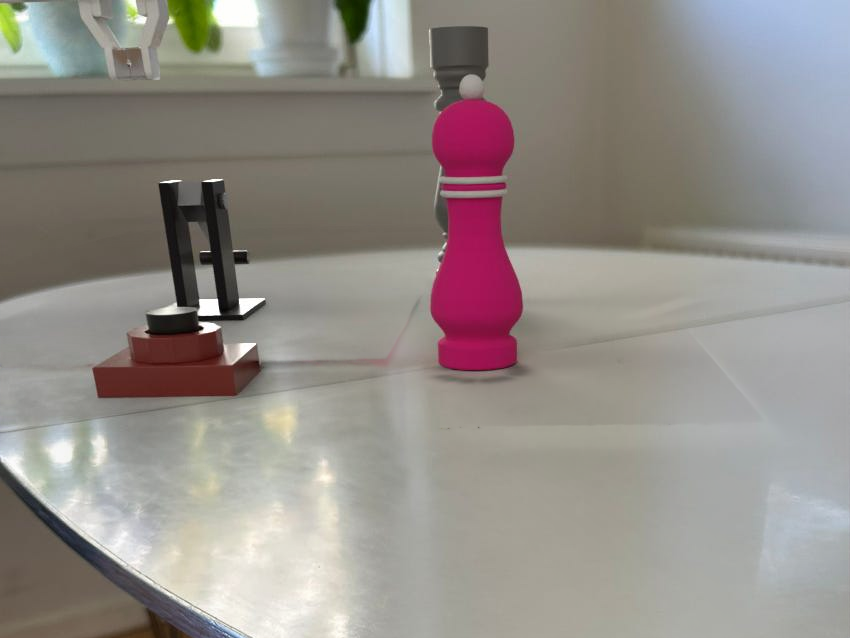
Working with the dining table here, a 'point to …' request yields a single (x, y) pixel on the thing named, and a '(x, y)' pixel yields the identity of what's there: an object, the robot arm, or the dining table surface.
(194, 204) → the tap lever
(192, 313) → the black push button
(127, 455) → the dining table surface
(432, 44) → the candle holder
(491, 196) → the pepper mill
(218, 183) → the bracket
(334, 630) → the dining table surface
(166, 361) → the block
